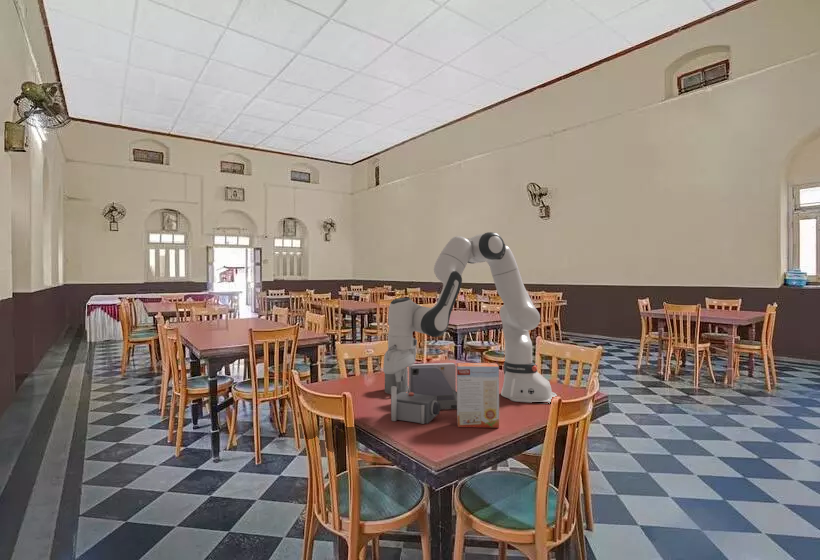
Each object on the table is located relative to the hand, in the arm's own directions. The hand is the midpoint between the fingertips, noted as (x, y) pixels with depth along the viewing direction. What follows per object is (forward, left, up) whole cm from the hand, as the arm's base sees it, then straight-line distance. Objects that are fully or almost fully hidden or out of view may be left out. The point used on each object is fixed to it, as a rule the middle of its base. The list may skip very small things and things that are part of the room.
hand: (399, 381), depth 158 cm
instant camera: (-6, -19, -13) cm, 24 cm away
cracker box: (-28, -2, -13) cm, 31 cm away
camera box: (-5, -1, -13) cm, 14 cm away
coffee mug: (+14, -26, -13) cm, 32 cm away
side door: (-5, +5, -12) cm, 14 cm away
